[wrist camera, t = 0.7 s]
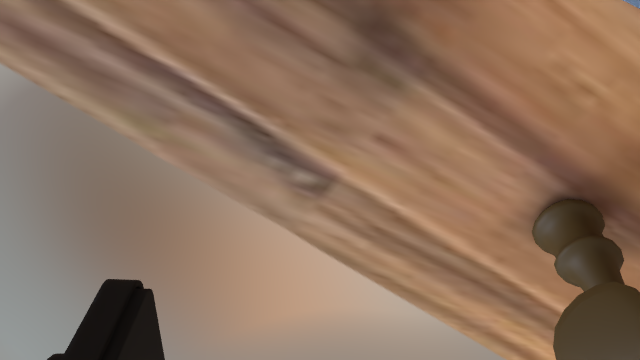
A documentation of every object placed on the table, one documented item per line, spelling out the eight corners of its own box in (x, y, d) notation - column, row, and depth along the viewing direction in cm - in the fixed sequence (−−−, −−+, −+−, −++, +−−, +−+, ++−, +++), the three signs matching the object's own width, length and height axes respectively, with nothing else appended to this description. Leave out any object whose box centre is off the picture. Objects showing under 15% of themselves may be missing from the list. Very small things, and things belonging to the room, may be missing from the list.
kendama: (548, 163, 39) (718, 408, 21) (637, 225, 41) (853, 487, 24) (490, 219, 41) (600, 477, 24) (578, 274, 44) (734, 542, 27)
